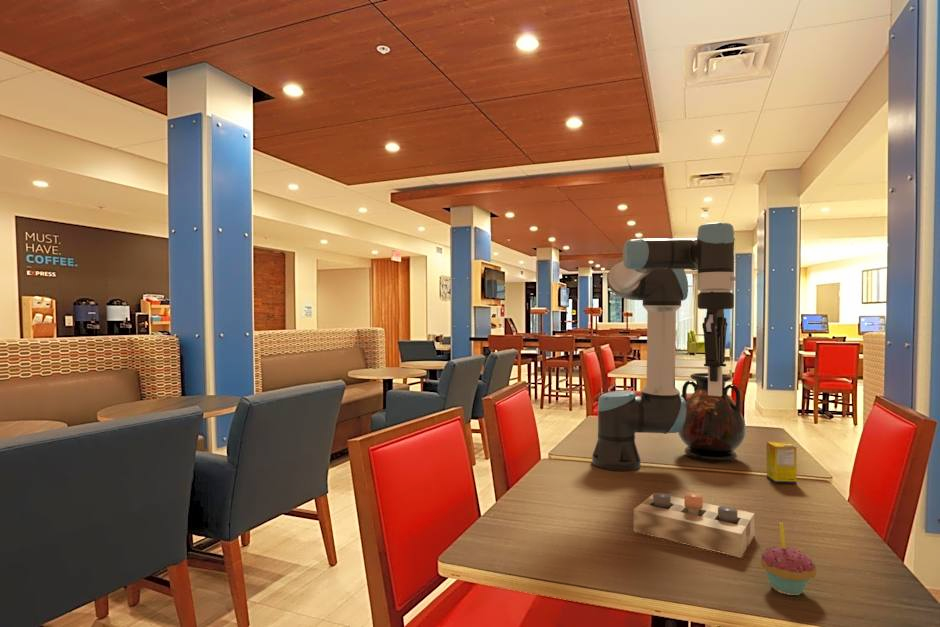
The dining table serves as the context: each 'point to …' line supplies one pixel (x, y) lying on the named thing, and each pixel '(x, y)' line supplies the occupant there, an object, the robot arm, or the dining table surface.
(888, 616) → the dining table surface
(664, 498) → the charcoal plug left
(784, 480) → the supplement box
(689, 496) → the terracotta plug
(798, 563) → the cupcake
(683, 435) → the amphora vase
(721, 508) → the charcoal plug right
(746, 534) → the panel
